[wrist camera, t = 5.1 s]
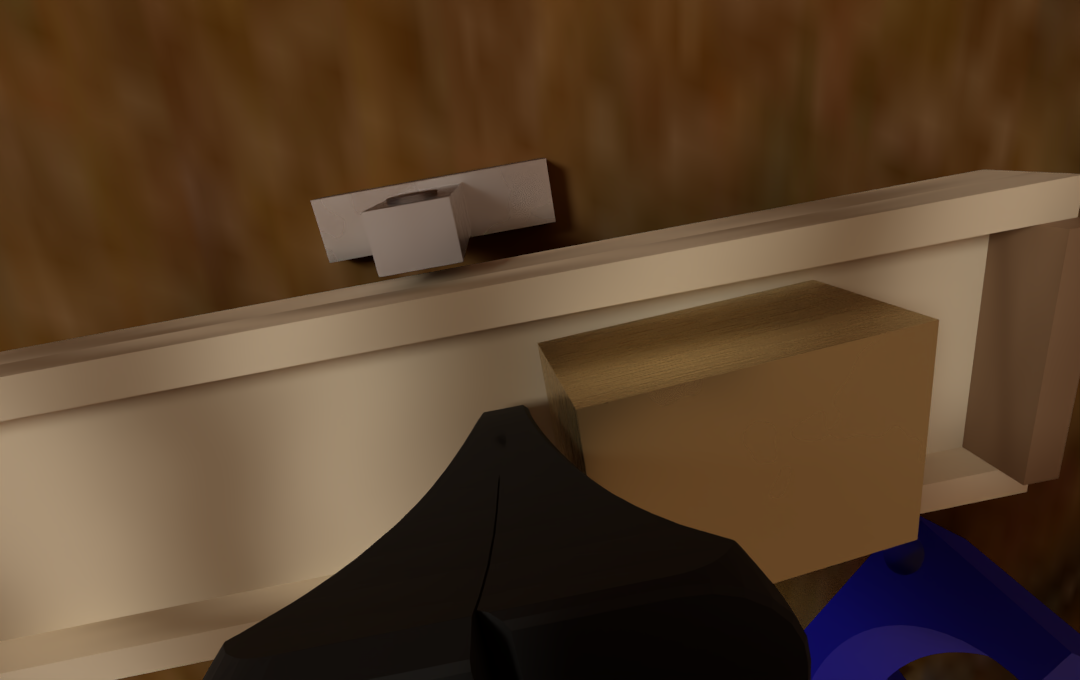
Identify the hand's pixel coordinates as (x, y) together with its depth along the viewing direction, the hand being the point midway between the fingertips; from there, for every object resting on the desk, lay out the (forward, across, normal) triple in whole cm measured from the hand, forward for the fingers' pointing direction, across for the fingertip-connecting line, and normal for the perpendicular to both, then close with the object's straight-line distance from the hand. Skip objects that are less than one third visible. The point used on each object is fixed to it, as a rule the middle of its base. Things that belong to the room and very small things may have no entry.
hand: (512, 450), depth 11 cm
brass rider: (0, -4, 0) cm, 4 cm away
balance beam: (+1, +1, 0) cm, 2 cm away
